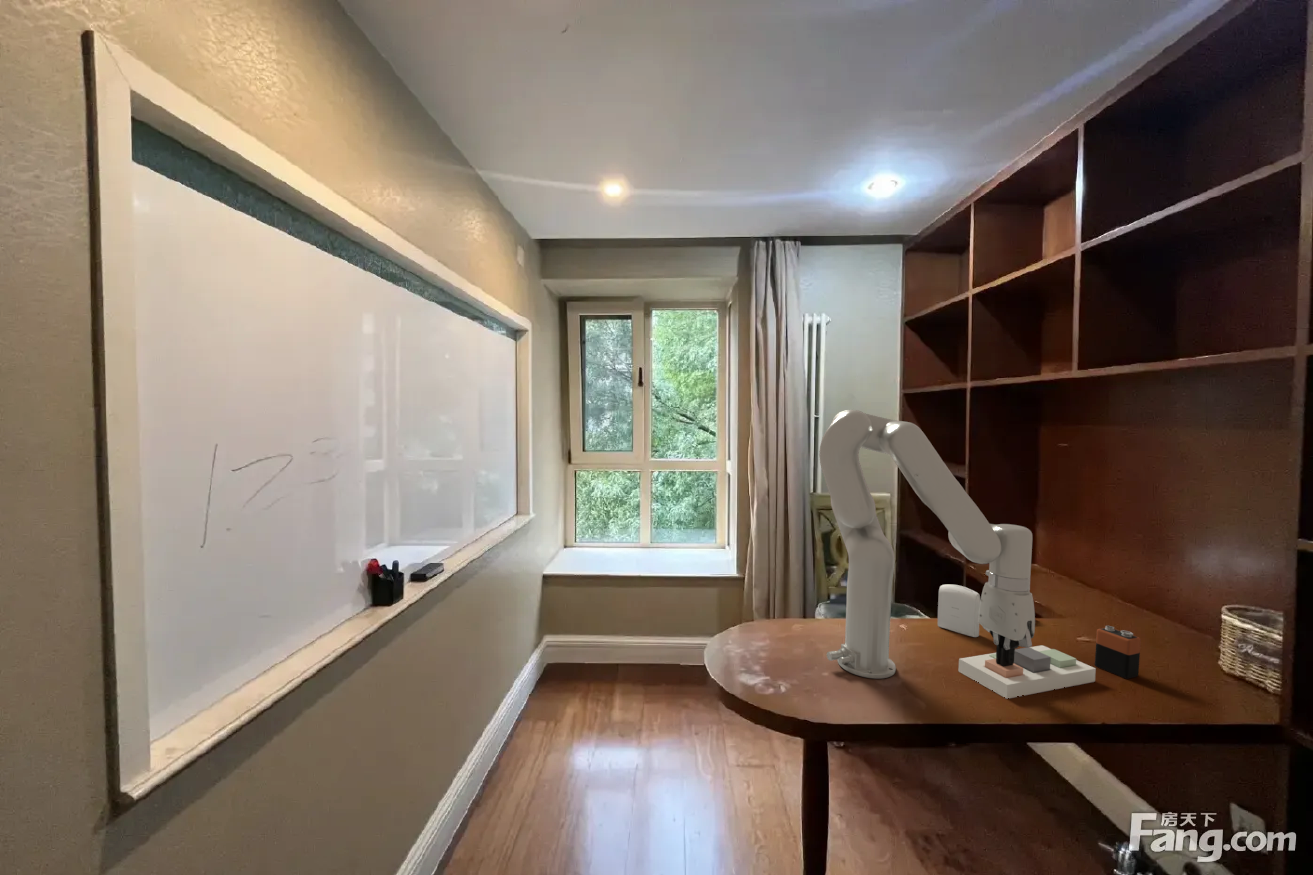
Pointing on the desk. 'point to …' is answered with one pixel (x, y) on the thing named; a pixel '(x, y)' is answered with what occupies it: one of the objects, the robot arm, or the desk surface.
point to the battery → (1117, 652)
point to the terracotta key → (1004, 669)
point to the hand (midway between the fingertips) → (1004, 664)
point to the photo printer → (959, 609)
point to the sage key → (1059, 658)
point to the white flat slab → (1025, 676)
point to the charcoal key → (1032, 660)
